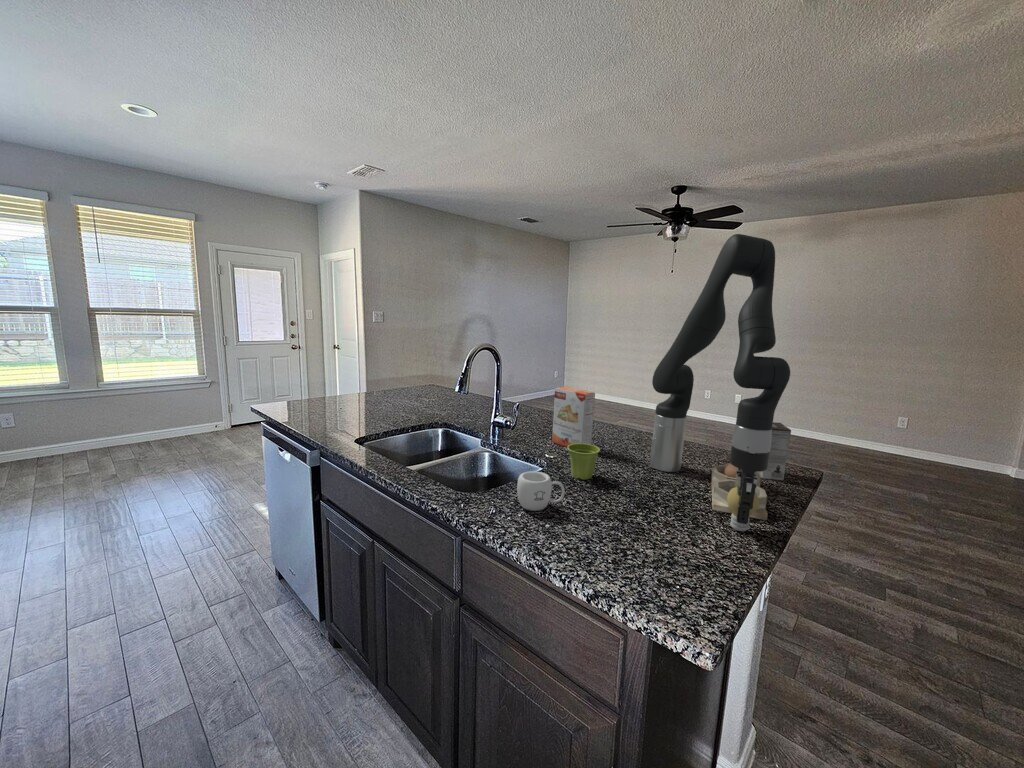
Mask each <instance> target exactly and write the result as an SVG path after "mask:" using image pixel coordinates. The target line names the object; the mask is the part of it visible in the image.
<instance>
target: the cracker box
mask: <svg viewBox="0 0 1024 768" xmlns="http://www.w3.org/2000/svg"><path fill="white" fill-rule="evenodd" d="M595 397H596V392H594V391H588V390H583V389H579V388H576V387H575V388H574V387H569V386H558V387H555V388H554V402H553V403H554V404H553V419H552V421H553V422H552V437H551V438H552V439H551V441H552V443H554V444H558V445H560V446H563V447H566V448H567V447H568V446H569V445H571V444H578V443H580V444H590V445H592V441H593V439H592V438H593V428H594V427H593V426H594V412H595Z"/></svg>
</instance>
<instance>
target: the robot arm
mask: <svg viewBox="0 0 1024 768" xmlns="http://www.w3.org/2000/svg"><path fill="white" fill-rule="evenodd" d="M775 267H776V249H775V246H774V243H773V242H772V241H771V240H768V239H766V238H764V237H763V238H762V237H756V236H752V235H747V234H741V233H735V234H733V235H731V236H729V237H728V238H727V239H726V241H725V243H724V244H723V246H722V248H721V249H720V251H719V254H718V255H717V257H716V260H715V261H714V264H713V267H712V269H711V271H710V273H709V275H708V279H707V281H706V283H705V284H704V287H703V289H702V290H701V293H700V294H699V296H698V298H697V300H696V301H695V303H694V305H693V307H692V309H691V311H690V312H689V314H688V315H687V317H686V319H685V321H684V322H683V325H682V327H681V329H680V331H679V333H678V334H677V336H676V337H675V339H674V341H673V342H672V345H671V346H670V347H669V349H668V351H667V352H666V354H665V355H664V356H663V358H662V359H661V361H660V362H659V363H658V365H657V366H656V368H655V370H654V373H653V375H652V379H651V380H652V382H651V385H652V388H653V389H654V391H655V392H657V393H659V394H663V395H669V397H668V398H666V400H664V401H662V402H659V403H658V404H656V407H655V411H654V413H655V414H654V424H653V425H654V426H653V434H652V439H651V445H650V456H649V458H650V459H649V466H648V467H649V468H652V469H655V470H658V471H662V472H667V473H675V472H680V471H681V469H682V468H681V467H682V460H683V459H682V458H683V450H684V440H685V432H686V424H687V423H686V421H687V414H688V411H689V409H690V406H691V402H692V401H691V400H692V395H693V389H694V372H693V370H692V368H691V367H690V366H689V365H687V364H686V363H687V362H688V361H690V360H691V359H692V358H694V356H696V355H698V354H699V353H701V352H702V351H703V350H705V349H707V347H709V346H710V345H711V344H712V343H713V342H714V340H715V339H716V337H717V336H718V335H719V333H720V332H721V329H722V328H723V326H724V325H725V322H726V319H727V318H726V316H727V314H726V304H725V298H724V297H725V296H724V293H725V288H726V286H727V283H728V281H729V280H730V277H731V276H732V275H737V276H743V277H749V278H751V279H750V280H751V283H752V291H751V292H750V295H749V296H748V298H747V299H746V301H744V303H743V305H742V307H741V308H740V310H739V313H738V318H737V326H738V339H739V344H738V345H739V346H738V353H737V357H736V362H735V365H734V368H733V373H732V374H733V380H734V381H735V383H736V384H737V385H738V387H741V388H744V389H751V390H752V389H754V390H763V391H761V393H760V394H759V395H758V396H755V397H749V398H744V399H741V400H739V403H738V406H737V414H736V421H735V427H734V430H733V433H732V440H731V449H730V455H729V463H731V464H732V465H733V466H735V467H737V468H738V471H736V481H735V487H737V495H738V496H739V501H738V512H737V522H738V523H743V524H747V523H748V518H750V517H749V511H750V509H752V508H753V501H754V497H755V489H756V485H757V478H756V474H754V473H755V472H756V473H757V471H759V472H761V471H765V470H766V469H767V467H768V461H769V454H770V447H771V440H772V425H773V422H774V417H775V412H776V409H777V407H778V404H779V402H780V400H781V397H782V395H783V393H784V391H785V389H786V387H787V386H788V383H789V381H790V378H791V368H790V365H789V363H788V362H787V361H786V360H785V359H784V358H782V357H777V356H776V357H775V356H772V357H771V356H756V355H754V354H760V353H765V352H767V351H770V350H772V349H773V348H774V347H775V345H776V342H777V338H776V332H775V331H776V328H775V322H774V315H773V294H774V287H775V286H774V284H775V283H774V282H775V273H776V272H775V269H776V268H775ZM744 498H746V499H749V502H748V503H747V502H743V499H744Z"/></svg>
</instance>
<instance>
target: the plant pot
mask: <svg viewBox="0 0 1024 768" xmlns="http://www.w3.org/2000/svg"><path fill="white" fill-rule="evenodd" d="M566 448H567V451H568V454H569V458H570V473H571V477H572V478H574V479H580V480H583V481H584V480H590V479H591V478H592V477H593V476H594V475H593V474H594V470H595V467H596V466H595V465H596V460H597V457H598V455H599V453H600V451H601V449H600V447H598V446H597V445H593V444H591V445H590V444H580V443H578V444H571V445H569V446H568V447H566Z"/></svg>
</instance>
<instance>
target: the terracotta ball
mask: <svg viewBox="0 0 1024 768" xmlns="http://www.w3.org/2000/svg"><path fill="white" fill-rule="evenodd" d="M726 465H727V466H726V468H725V475H726V476H728V477H733V478H736V471H738V468H737V467H735V466H733V465H732V464H731V463H730V462H729V463H728V464H726Z"/></svg>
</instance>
